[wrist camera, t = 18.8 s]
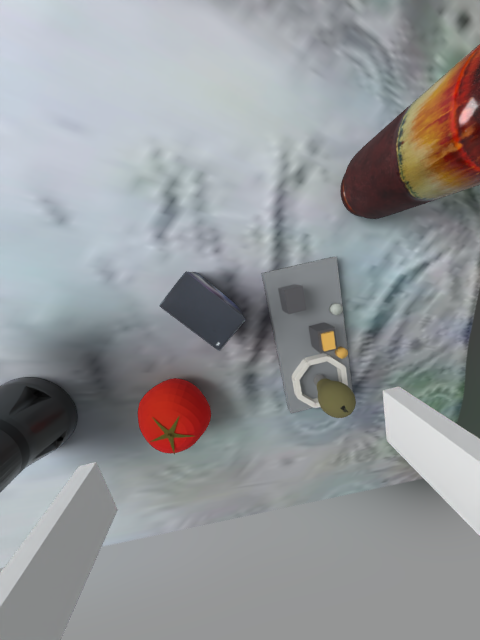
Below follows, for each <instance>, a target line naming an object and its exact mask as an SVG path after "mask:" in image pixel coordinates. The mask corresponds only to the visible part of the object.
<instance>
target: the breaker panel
mask: <svg viewBox="0 0 480 640" xmlns="http://www.w3.org/2000/svg"><path fill="white" fill-rule="evenodd" d="M261 274H262V279H263V284H264V289H265V294H266V299H267V304H268V309H269V314H270V319H271V325H272V330H273V335H274V340H275V345H276V350H277V355H278V360H279V365H280V370H281V375H282V380H283V385H284V390H285V395H286V401H287V406H288V409H289V411H290V413H295V412H299V411H303V410H307V409H311V408H318V407H321V406H320V404H319V402H318V391H317V386H316V385H315V384H314V381H313V380H314V377H315V376H316V375H319V374H322V375H324V376H325V377H326V378H327V379H330V380H331V381H339V382H342V383H344V384H345V385H347V386H348V387H349V388H350V389H351V390H352V383H351V374H350V366H349V357H348V349H347V341H346V332H345V324H344V315H343V307H342V298H341V290H340V281H339V273H338V265H337V257H330V258H326V259H321V260H317V261H313V262H308V263H304V264H300V265H295V266H291V267H287V268H282V269H278V270H274V271H270V272H265V273H261ZM294 284H296V285H302V286H303V291H304V297H305V304H306V310H305V311H300V312H296V313H292V314H287V313H286V312H284V311H283V310H282V306H281V301H280V295H279V290H278V288H281V287H285V286H290V285H294ZM323 322H325V323H327V324H329V325H331V326H333V327H335V334H336V341H337V349H338V350H334V351H330V352H326V353H322V354H320V353H319V352H318V351H317V350H315V349H314V348H313V347H312V345H311V339H310V332H309V326H311V325H315V324H319V323H323ZM352 392H353V391H352Z"/></svg>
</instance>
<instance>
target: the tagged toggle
mask: <svg viewBox="0 0 480 640" xmlns="http://www.w3.org/2000/svg"><path fill="white" fill-rule="evenodd" d="M309 332H310V339H311V345H312V347H313V348H314V349H315V350H317V351H318V352H319V353H320V354H322V353H326V352H330V351H334V350H338V349H337V341H336V334H335V327H333V326H331V325H329V324H327V323H325V322H323V323H319V324H315V325H311V326H309Z"/></svg>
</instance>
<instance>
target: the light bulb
mask: <svg viewBox="0 0 480 640" xmlns="http://www.w3.org/2000/svg"><path fill="white" fill-rule="evenodd" d="M313 381H314V384H315V385H316V386H317V391H318V402H319V404H320V406H321V408H322V409H323V411H324V412H325V413H327V414H328V415H330V416H332V417H336V418H343V417H346V416H348V415H350V414H351V413H352V412H353V410H354V408H355V404H356V401H355V396H354V394H353V392H352V390H351V389H350V388H349V387H348V386H347V385H345V384H344V383H342V382H339V381H331V380H330V379H327V378H326V377H325V376H324V375H322V374H319V375H316V376H315V377H314V380H313Z"/></svg>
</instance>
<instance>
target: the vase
mask: <svg viewBox="0 0 480 640" xmlns="http://www.w3.org/2000/svg"><path fill="white" fill-rule="evenodd" d="M478 185H480V44H479V45H478V46H477V47H476V48H475V49H474V50H472V51H471V52H470V53H469V54H468V55H467V56H465V57H464V58H463V59H462V60H461V61H460V62H458V63H457V64H456V65H455V66H454V67H453V68H452V69H450V70H449V71H448V72H447V73H446V74H445V75H444V76H443V77H441V78H440V79H439V80H438V81H437V82H436V83H435V84H433V85H432V86H431V87H430V88H429V89H428V90H427V91H426V92H424V93H423V94H422V95H421V96H420V97H419V98H418V99H417V100H415V101H414V102H413V103H412V104H411V105H410V106H409V107H407V108H406V109H405V110H404V111H403V112H402V113H401V114H400V115H398V116H397V117H396V118H395V119H394V120H393V121H392V122H391V123H390V124H388V125H387V126H386V127H385V128H384V129H383V130H382V131H381V132H379V133H378V134H377V135H376V136H375V137H374V138H373V139H372V140H370V141H369V142H368V143H367V144H366V145H365V146H364V147H363V148H362V149H361V150H360V151H359V152H358V153H357V154H356V155H355V156H354V157H353V159H352V160H351V161H350V163H349V165H348V167H347V170H346V173H345V175H344V177H343V180H342V183H341V198H342V201H343V204H344V206H345V207H346V208H347V210H348V211H349V212H351V213H352V214H354V215H357V216H361V217H365V218H370V219H376V218H381V217H385V216H388V215H392V214H395V213H398V212H401V211H404V210H407V209H410V208H413V207H416V206H419V205H422V204H425V203H428V202H431V201H434V200H436V199H439V198H442V197H445V196H448V195H451V194H454V193H457V192H460V191H463V190H466V189H469V188H472V187H475V186H478Z"/></svg>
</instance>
